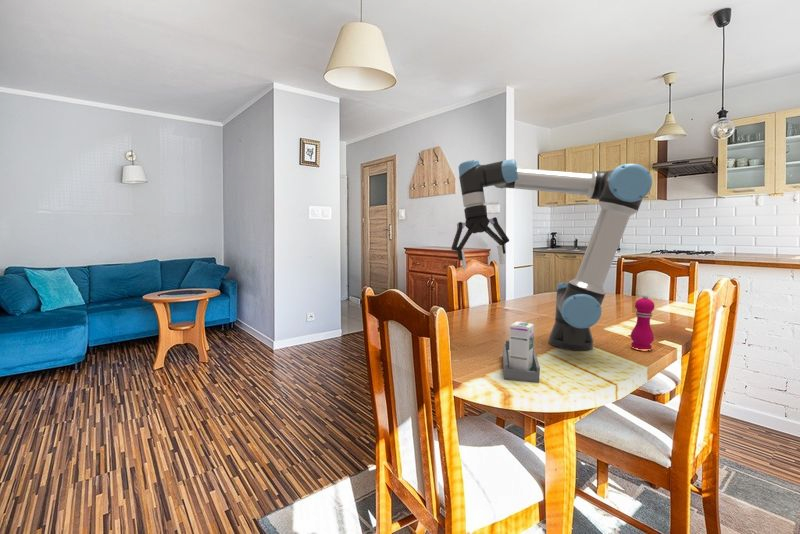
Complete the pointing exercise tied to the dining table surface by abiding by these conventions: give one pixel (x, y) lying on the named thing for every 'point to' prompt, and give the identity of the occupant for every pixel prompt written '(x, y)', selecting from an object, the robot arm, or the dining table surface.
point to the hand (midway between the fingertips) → (483, 266)
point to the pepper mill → (643, 324)
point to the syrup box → (521, 346)
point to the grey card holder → (520, 374)
